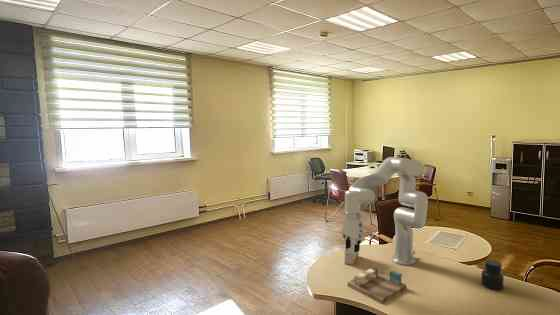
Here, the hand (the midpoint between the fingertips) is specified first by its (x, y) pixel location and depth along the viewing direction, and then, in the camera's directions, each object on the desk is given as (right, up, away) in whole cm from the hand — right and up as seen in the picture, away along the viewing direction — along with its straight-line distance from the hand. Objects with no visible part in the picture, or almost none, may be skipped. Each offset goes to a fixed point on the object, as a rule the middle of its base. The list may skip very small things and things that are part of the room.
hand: (352, 249), depth 158 cm
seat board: (+11, -18, -4) cm, 21 cm away
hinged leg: (+7, -15, -1) cm, 17 cm away
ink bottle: (+67, -17, -5) cm, 69 cm away
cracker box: (+6, -15, +27) cm, 32 cm away
